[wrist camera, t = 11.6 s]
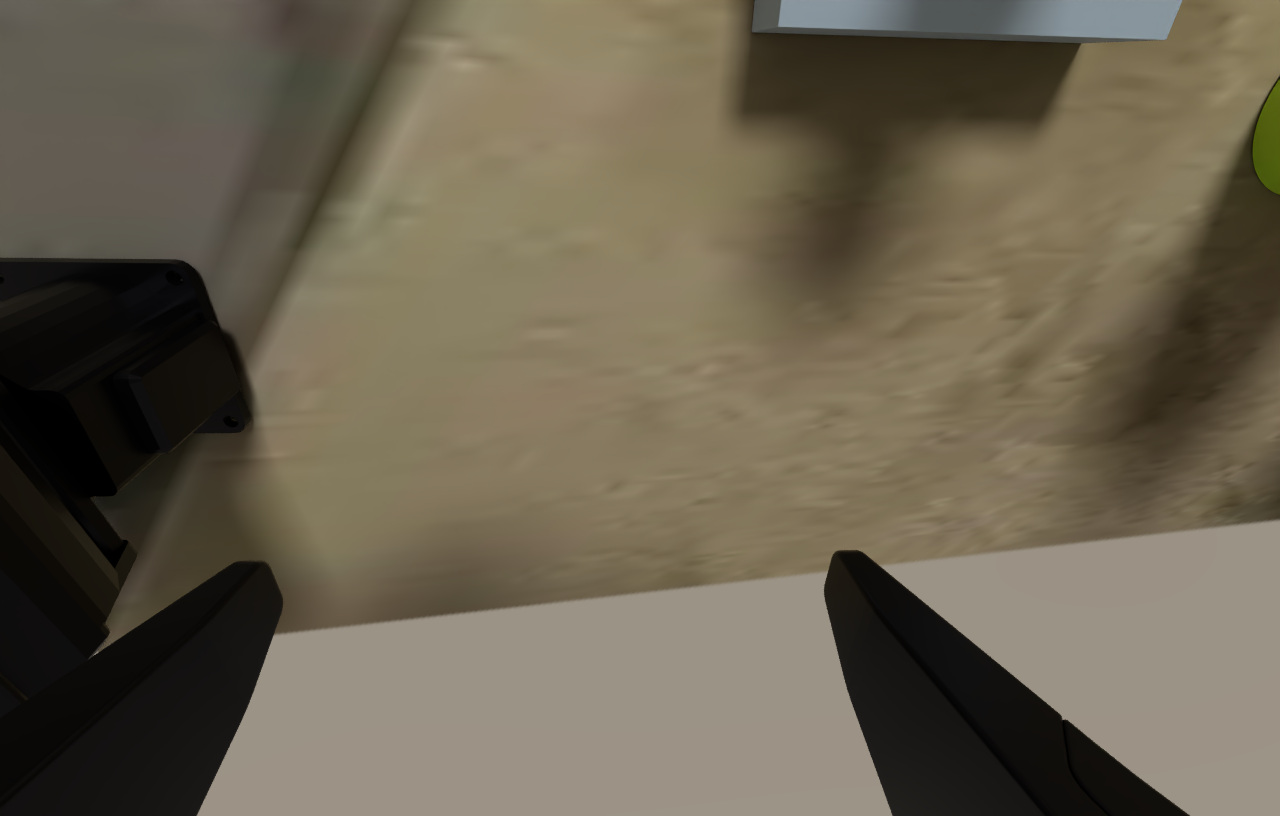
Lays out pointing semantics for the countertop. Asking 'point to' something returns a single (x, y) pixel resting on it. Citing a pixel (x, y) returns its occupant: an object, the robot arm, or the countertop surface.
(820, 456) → the countertop surface
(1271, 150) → the soap dispenser
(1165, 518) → the countertop surface
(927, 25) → the hole block
